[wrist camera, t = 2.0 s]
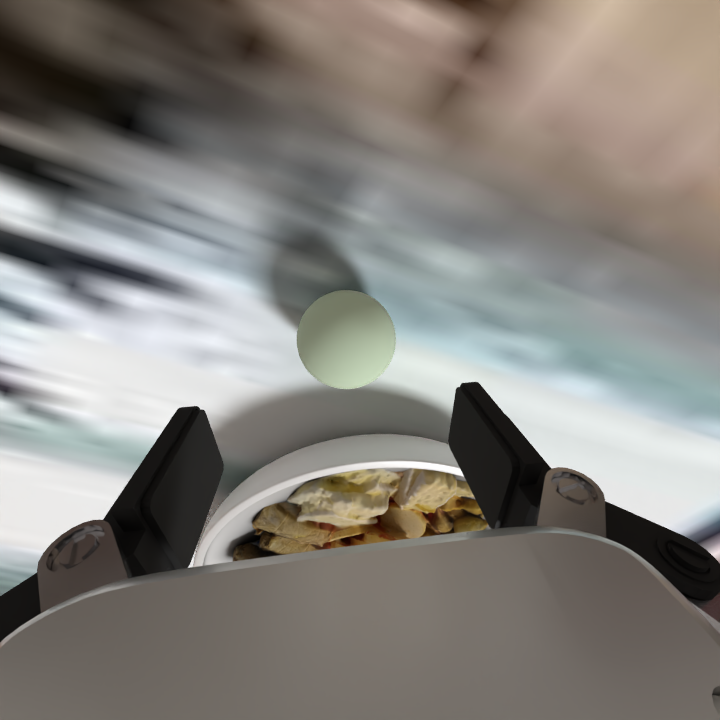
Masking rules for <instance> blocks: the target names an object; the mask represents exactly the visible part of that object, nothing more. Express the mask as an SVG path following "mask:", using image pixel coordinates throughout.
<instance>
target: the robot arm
mask: <svg viewBox="0 0 720 720" xmlns="http://www.w3.org/2000/svg"><path fill="white" fill-rule="evenodd" d="M448 442H449V447H450V450H451V452H452V454H453V456H454V458H455V460H456V462H457V464H458V466H459V468H460V470H461V472H462V473H463V475H464V477H465V479H466V481H467V483H468V485H469V487H470V489H471V491H472V493H473V495H474V497H475V499H476V501H477V503H478V505H479V507H480V509H481V511H482V513H483V515H484V517H485V519H486V521H487V523H488V525H489V527H490V528H491V529H488V530H478V531H469V532H460V533H452V534H444V535H435V536H427V537H419V538H411V539H403V540H395V541H387V542H379V543H371V544H363V545H355V546H347V547H339V548H332V549H324V550H316V551H309V552H301V553H293V554H286V555H278V556H271V557H263V558H256V559H248V560H241V561H233V562H226V563H218V564H211V565H205V566H198V567H191V568H188V566H189V565H190V562H191V560H192V557H193V554H194V551H195V548H196V546H197V543H198V540H199V537H200V535H201V532H202V529H203V526H204V523H205V521H206V518H207V515H208V512H209V509H210V507H211V504H212V501H213V498H214V496H215V493H216V490H217V487H218V484H219V482H220V479H221V476H222V473H223V461H222V458H221V455H220V452H219V449H218V447H217V444H216V441H215V438H214V435H213V432H212V430H211V427H210V424H209V421H208V418H207V415H206V413H205V411H204V410H200V408H199V407H197V406H193V407H181V408H179V409H178V410H177V411H176V413H175V414H174V415H173V417H172V418H171V420H170V421H169V423H168V424H167V426H166V427H165V429H164V430H163V432H162V433H161V435H160V436H159V438H158V439H157V441H156V442H155V444H154V445H153V447H152V448H151V450H150V451H149V453H148V454H147V455H146V457H145V458H144V460H143V461H142V463H141V464H140V466H139V467H138V469H137V470H136V472H135V473H134V475H133V476H132V478H131V479H130V481H129V482H128V484H127V485H126V487H125V488H124V490H123V491H122V493H121V494H120V495H119V497H118V498H117V500H116V501H115V503H114V504H113V506H112V507H111V509H110V510H109V512H108V513H107V515H106V516H105V518H104V519H103V520H92V521H88V522H85V523H82V524H80V525H78V526H76V527H73V528H72V529H70V530H68V531H67V532H65V533H64V534H62V535H61V536H60V537H59V538H57V539H56V540H55V541H54V542H53V543H52V544H51V545H50V546H49V547H48V548H47V549H46V551H45V552H44V553H43V555H42V557H41V558H40V560H39V562H38V568H37V573H36V574H34V575H33V576H31V577H30V578H28V579H27V580H25V581H23V582H22V583H20V584H19V585H17V586H16V587H14V588H13V589H11V590H9V591H8V592H6V593H5V594H3V595H2V596H0V720H720V564H719V562H718V561H717V560H716V559H715V558H714V557H713V556H712V555H711V554H710V553H709V552H708V551H707V550H706V549H704V548H703V547H701V546H700V545H698V544H697V543H696V542H694V541H692V540H690V539H688V538H686V537H685V536H683V535H680V534H678V533H676V532H674V531H671V530H669V529H667V528H665V527H662V526H660V525H658V524H656V523H653V522H651V521H649V520H647V519H644V518H642V517H640V516H637V515H635V514H633V513H631V512H628V511H626V510H624V509H622V508H619V507H617V506H615V505H613V504H610V503H608V502H606V501H605V498H604V494H603V492H602V491H601V489H600V488H599V486H598V485H597V484H596V483H595V482H594V481H593V480H591V479H590V478H588V477H587V476H585V475H584V474H582V473H580V472H577V471H575V470H572V469H568V468H560V467H558V468H553V469H551V468H550V467H549V465H548V464H547V463H546V462H545V461H544V459H543V458H542V457H541V456H540V455H539V453H538V452H537V451H536V450H535V449H534V447H533V446H532V445H531V444H530V443H529V441H528V440H527V439H526V438H525V437H524V435H523V434H522V433H521V432H520V431H519V429H518V428H517V427H516V426H515V425H514V423H513V422H512V421H511V420H510V419H509V418H508V417H507V416H506V415H505V414H504V413H503V412H502V410H501V409H500V408H499V407H498V406H497V404H496V403H495V402H494V401H493V399H492V398H491V397H490V396H489V395H488V393H487V392H486V391H485V390H484V389H483V387H482V386H481V385H480V384H479V383H478V382H469V383H462V384H461V385H460V387H458V388H457V389H456V393H455V400H454V406H453V413H452V419H451V426H450V432H449V440H448Z"/></svg>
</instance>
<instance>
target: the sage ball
mask: <svg viewBox="0 0 720 720" xmlns="http://www.w3.org/2000/svg"><path fill="white" fill-rule="evenodd" d="M395 344H396V335H395V329H394V325H393V322H392V320H391V318H390V316H389V314H388V313H387V311H386V310H385V308H384V307H383V306H382V305H381V304H380V303H379V302H378V301H376V300H375V299H374V298H372V297H370V296H369V295H367V294H364V293H362V292H358V291H353V290H339V291H334V292H331V293H328V294H325V295H324V296H322V297H320V298H318V299H317V300H316V301H314V302H313V303H312V304H311V305H310V306H309V307H308V309H307V310H306V311H305V313H304V315H303V316H302V318H301V321H300V323H299V326H298V331H297V348H298V352H299V356H300V358H301V361H302V362H303V364H304V366H305V368H306V369H307V370H308V372H309V373H310V374H311V375H312V376H313V377H315V378H316V379H317V380H318V381H320V382H322V383H323V384H326V385H328V386H331V387H334V388H339V389H354V388H359V387H362V386H365V385H367V384H369V383H371V382H373V381H374V380H376V379H377V378H378V377H379V376H380V375H381V374H382V373H383V372H384V371H385V370H386V368H387V367H388V365H389V364H390V362H391V360H392V357H393V354H394V350H395Z"/></svg>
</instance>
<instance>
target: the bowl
mask: <svg viewBox="0 0 720 720" xmlns="http://www.w3.org/2000/svg"><path fill="white" fill-rule="evenodd" d="M488 529H491V528H490V527H489V525H488V523H487V521H486V519H485V517H484V515H483V513H482V511H481V509H480V507H479V505H478V503H477V501H476V499H475V497H474V495H473V493H472V491H471V489H470V487H469V485H468V483H467V481H466V479H465V477H464V475H463V473H462V472H461V470H460V468H459V466H458V464H457V462H456V460H455V458H454V456H453V454H452V452H451V450H450V447H449V444H446V443H443V442H439V441H436V440H432V439H427V438H423V437H416V436H409V435H398V434H367V435H356V436H349V437H342V438H337V439H332V440H328V441H324V442H320V443H316V444H313V445H310V446H307V447H304V448H301V449H299V450H296V451H294V452H291V453H289V454H286V455H284V456H282V457H280V458H278V459H276V460H275V461H273V462H271V463H269V464H267V465H266V466H264V467H263V468H261V469H259V470H258V471H256V472H255V473H254V474H252V475H251V476H250V477H248V478H247V479H246V480H244V481H243V482H242V483H241V484H240V485H239V486H238V487H237V488H236V489H235V490H234V491H233V492H232V493H231V494H230V495H229V496H228V497H227V498H226V499H225V500H224V501H223V503H222V504H221V505H220V506H219V508H218V509H217V511H216V512H215V513H214V515H213V516H212V518H211V520H210V522H209V523H208V525H207V527H206V529H205V531H204V533H203V536H202V538H201V540H200V543H199V546H198V548H197V551H196V555H195V558H194V564H193V567H198V566H205V565H211V564H218V563H226V562H233V561H241V560H248V559H256V558H263V557H271V556H278V555H286V554H293V553H301V552H309V551H316V550H324V549H332V548H339V547H347V546H355V545H363V544H371V543H379V542H387V541H395V540H403V539H411V538H419V537H427V536H435V535H444V534H452V533H460V532H469V531H478V530H488Z"/></svg>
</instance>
